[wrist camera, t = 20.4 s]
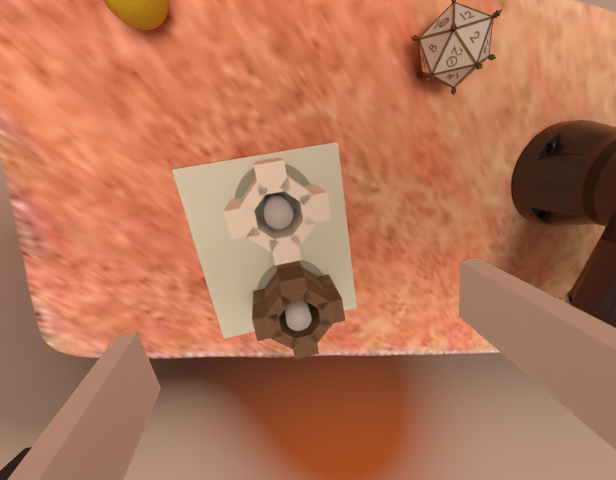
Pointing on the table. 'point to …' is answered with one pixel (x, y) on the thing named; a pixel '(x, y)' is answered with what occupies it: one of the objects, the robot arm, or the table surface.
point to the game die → (455, 44)
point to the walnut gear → (292, 289)
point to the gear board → (248, 255)
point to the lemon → (140, 12)
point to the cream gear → (254, 227)
